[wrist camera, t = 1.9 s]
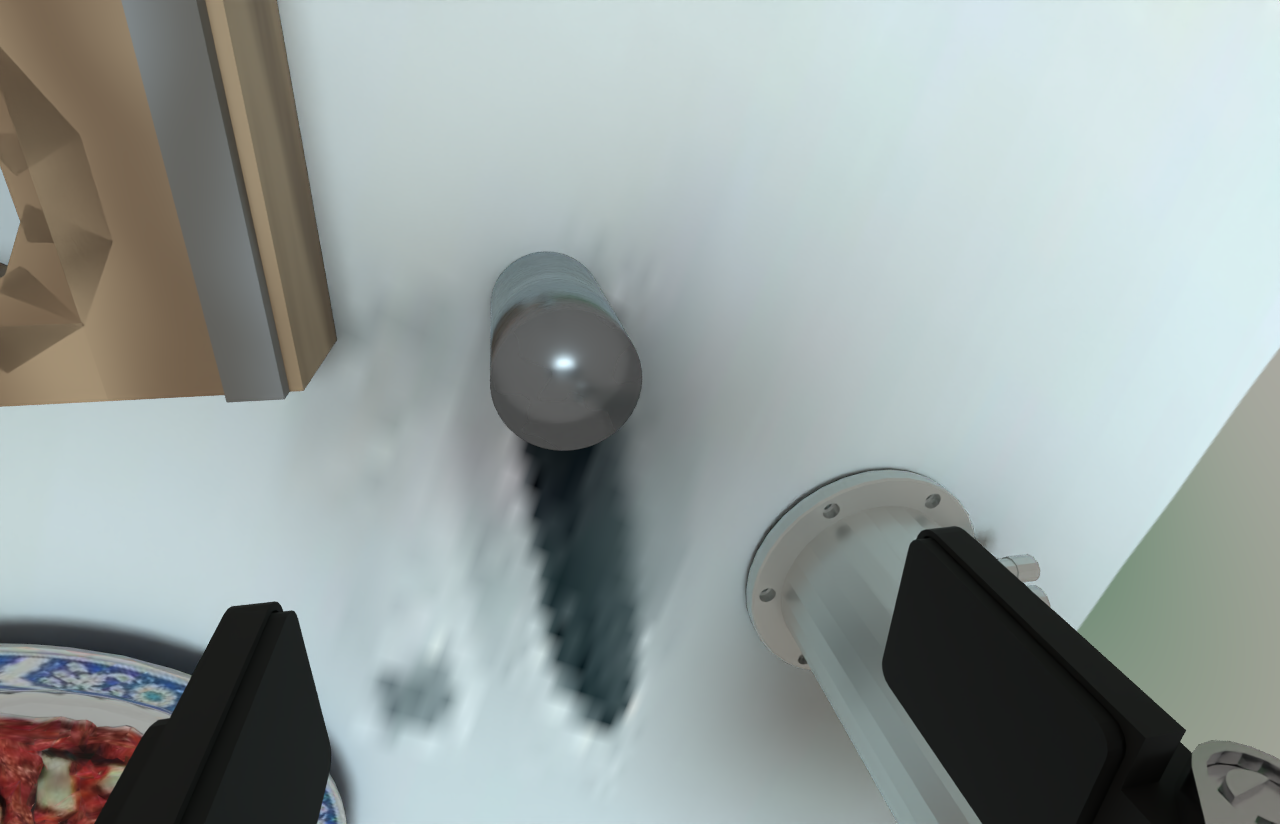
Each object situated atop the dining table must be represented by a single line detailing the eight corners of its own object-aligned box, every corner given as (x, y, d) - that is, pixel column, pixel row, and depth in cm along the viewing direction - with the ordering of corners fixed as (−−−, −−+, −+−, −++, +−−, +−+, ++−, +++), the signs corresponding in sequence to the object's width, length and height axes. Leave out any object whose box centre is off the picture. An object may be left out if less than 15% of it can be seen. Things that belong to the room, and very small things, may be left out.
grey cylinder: (602, 250, 26) (644, 307, 19) (602, 357, 28) (640, 445, 20) (486, 252, 25) (484, 312, 18) (494, 361, 27) (495, 455, 20)
